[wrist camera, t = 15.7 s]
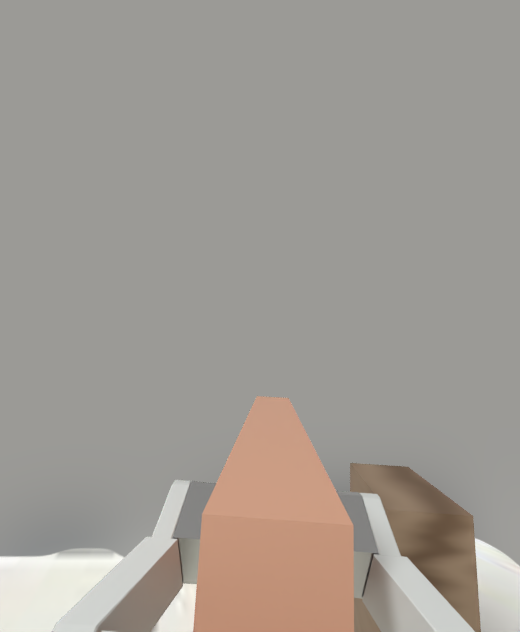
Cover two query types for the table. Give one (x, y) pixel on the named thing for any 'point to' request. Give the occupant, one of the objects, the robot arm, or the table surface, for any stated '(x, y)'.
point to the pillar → (424, 537)
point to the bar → (275, 535)
